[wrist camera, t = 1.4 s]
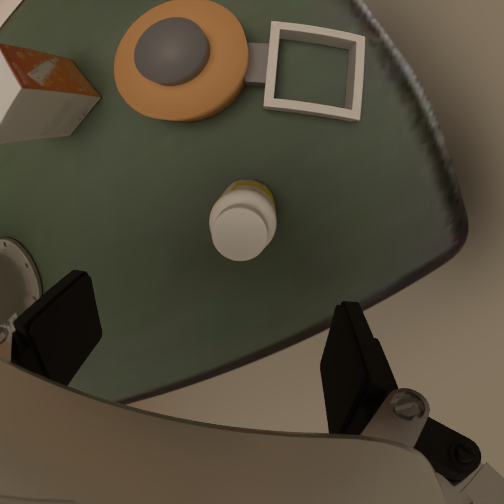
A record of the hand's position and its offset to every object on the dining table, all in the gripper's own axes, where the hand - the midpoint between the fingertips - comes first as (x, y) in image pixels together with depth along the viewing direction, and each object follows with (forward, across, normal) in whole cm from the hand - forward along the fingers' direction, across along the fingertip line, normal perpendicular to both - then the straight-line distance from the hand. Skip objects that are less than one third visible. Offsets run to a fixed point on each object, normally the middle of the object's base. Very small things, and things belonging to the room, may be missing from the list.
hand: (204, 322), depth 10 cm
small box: (+21, +22, -12) cm, 33 cm away
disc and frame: (+21, +1, -14) cm, 25 cm away
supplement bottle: (+21, 0, 0) cm, 21 cm away
